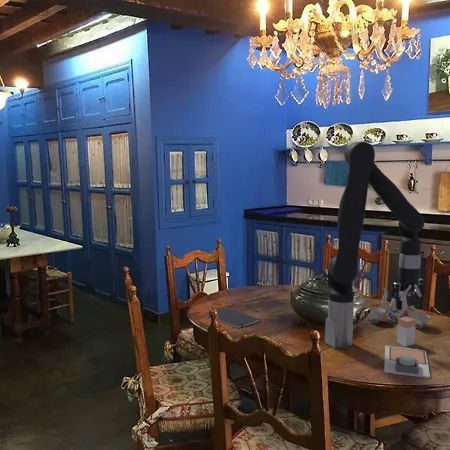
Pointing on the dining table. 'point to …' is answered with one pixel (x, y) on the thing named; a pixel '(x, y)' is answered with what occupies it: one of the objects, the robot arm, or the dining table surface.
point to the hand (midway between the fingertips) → (407, 308)
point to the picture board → (394, 367)
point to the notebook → (235, 318)
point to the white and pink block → (406, 331)
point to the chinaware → (398, 312)
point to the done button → (407, 361)
